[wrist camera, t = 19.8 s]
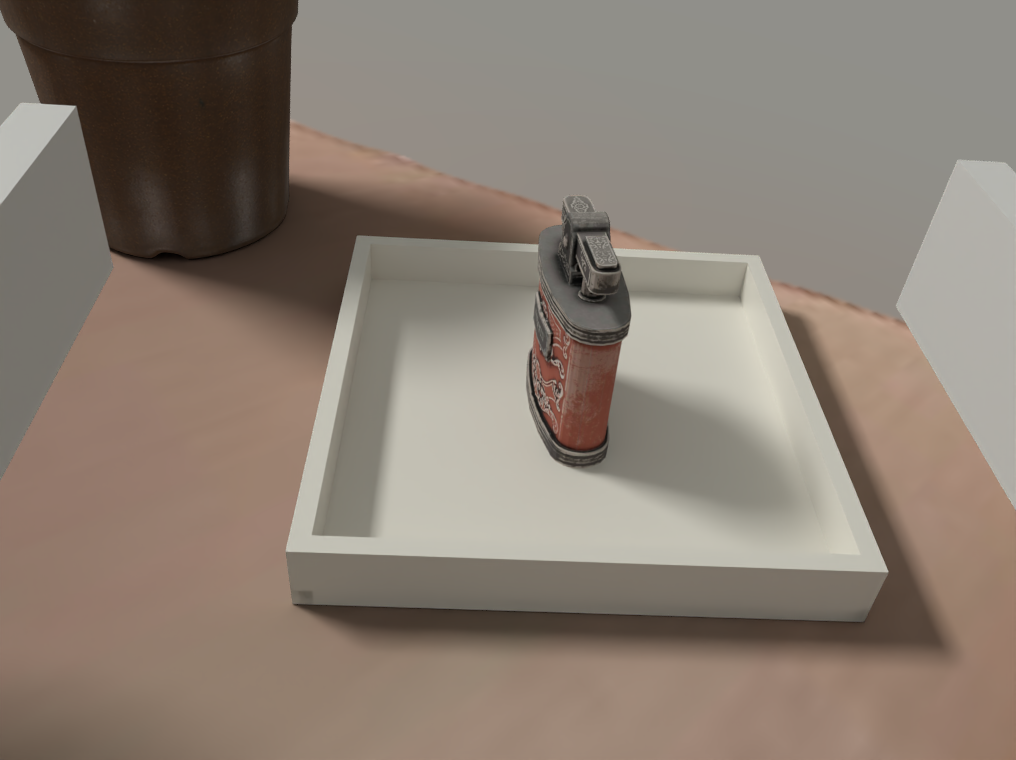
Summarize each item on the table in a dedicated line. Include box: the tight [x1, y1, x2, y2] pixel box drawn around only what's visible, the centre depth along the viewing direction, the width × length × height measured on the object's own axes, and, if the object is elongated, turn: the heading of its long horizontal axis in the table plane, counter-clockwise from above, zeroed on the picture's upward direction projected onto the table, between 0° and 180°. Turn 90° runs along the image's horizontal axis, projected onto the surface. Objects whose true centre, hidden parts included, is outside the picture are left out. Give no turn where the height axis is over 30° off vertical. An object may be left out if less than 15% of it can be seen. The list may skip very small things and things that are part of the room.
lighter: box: [526, 195, 631, 468], centre depth 41 cm, size 8×3×10 cm, turn 9°
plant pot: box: [0, 0, 298, 259], centre depth 52 cm, size 16×16×16 cm
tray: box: [286, 235, 889, 622], centre depth 43 cm, size 22×22×3 cm
